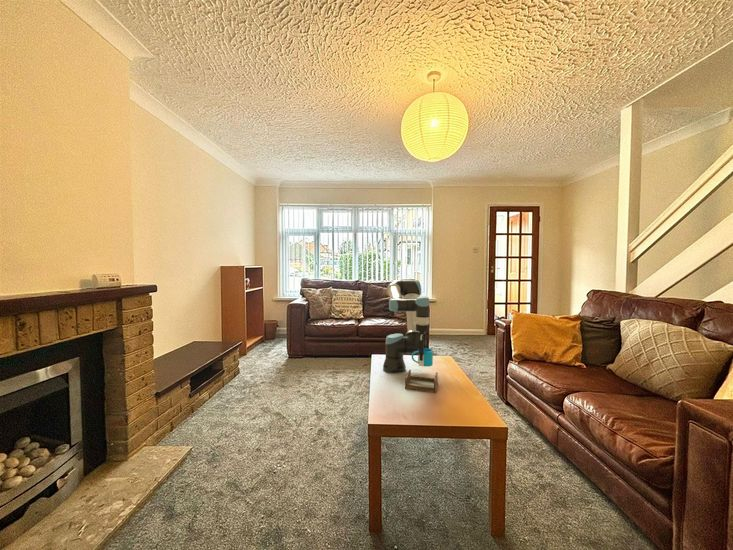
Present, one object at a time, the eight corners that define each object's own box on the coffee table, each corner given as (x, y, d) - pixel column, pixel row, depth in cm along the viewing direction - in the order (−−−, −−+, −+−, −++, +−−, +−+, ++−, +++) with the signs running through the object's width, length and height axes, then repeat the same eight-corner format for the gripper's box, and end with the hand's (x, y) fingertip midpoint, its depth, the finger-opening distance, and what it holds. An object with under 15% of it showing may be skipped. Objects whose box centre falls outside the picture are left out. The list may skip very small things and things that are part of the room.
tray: (409, 379, 181) (409, 369, 180) (437, 382, 176) (437, 372, 175) (405, 388, 166) (405, 378, 166) (435, 392, 161) (435, 381, 161)
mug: (431, 362, 174) (432, 348, 174) (433, 366, 166) (433, 352, 166) (411, 361, 175) (411, 347, 175) (411, 365, 167) (411, 351, 167)
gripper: (418, 320, 181) (418, 357, 182) (413, 327, 161) (413, 368, 162) (430, 321, 179) (430, 358, 180) (427, 327, 159) (427, 370, 160)
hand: (422, 363), depth 171 cm, fingers closed on mug, 8 cm apart
